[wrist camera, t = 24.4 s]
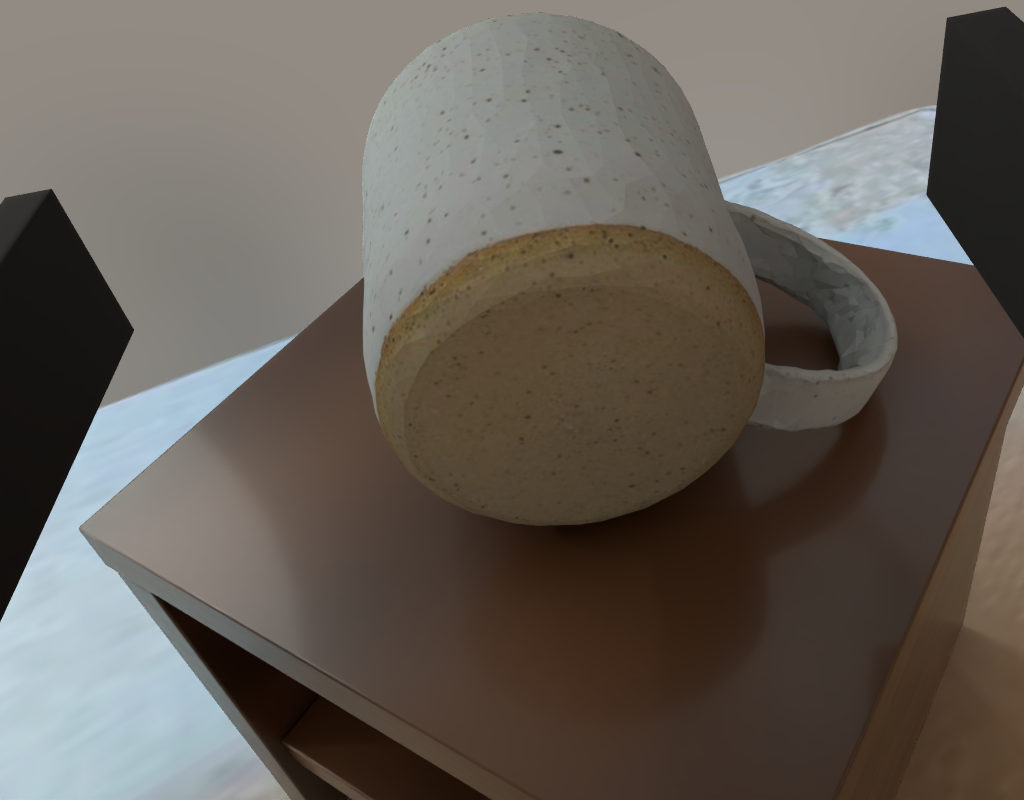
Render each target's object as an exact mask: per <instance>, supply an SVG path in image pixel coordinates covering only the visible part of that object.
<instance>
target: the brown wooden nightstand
mask: <svg viewBox="0 0 1024 800" xmlns="http://www.w3.org/2000/svg"><path fill="white" fill-rule="evenodd" d="M818 239H820V240H822V241H824V242H825V243H827V244H828V245H830V246H831V247H833V248H834V249H836V250H837V251H839V252H840V253H841V254H842V255H844V256H845V257H846V258H847V259H848V260H850V261H851V262H852V263H853V264H854V265H856V266H857V267H858V268H859V269H860V270H861V271H862V272H863V273H864V274H865V275H866V276H867V277H868V278H869V279H870V280H871V281H872V283H873V284H874V285H875V286H876V287H877V288H878V289H879V291H880V292H881V294H882V295H883V297H884V298H885V300H886V302H887V304H888V306H889V308H890V310H891V312H892V315H893V317H894V320H895V323H896V329H897V335H898V338H897V351H896V353H895V356H894V359H893V361H892V363H891V365H890V367H889V369H888V371H887V372H886V374H885V375H884V377H883V379H882V380H881V382H880V383H879V385H878V386H877V388H876V389H875V391H874V393H873V394H872V396H871V397H870V399H869V400H868V401H867V403H866V404H865V405H864V407H863V408H862V409H861V410H860V412H859V413H858V414H856V415H855V416H853V417H852V418H850V419H848V420H846V421H845V422H843V423H841V424H839V425H836V426H833V427H829V428H827V427H822V428H819V429H806V430H802V431H796V432H781V431H773V430H766V429H759V428H757V427H755V426H752V425H745V426H744V428H743V430H742V431H741V433H740V435H739V436H738V438H737V440H736V441H735V443H734V445H733V446H732V447H731V448H730V449H729V450H728V451H727V452H726V453H725V454H724V455H723V456H722V457H721V458H720V459H719V460H718V461H717V462H716V463H715V464H714V465H713V466H712V467H711V468H710V469H709V470H708V471H706V472H705V473H704V474H703V475H701V476H700V477H698V478H697V479H696V480H694V481H693V482H692V483H690V484H689V485H688V486H686V487H685V488H684V489H682V490H680V491H678V492H676V493H675V494H673V495H671V496H669V497H667V498H665V499H663V500H661V501H659V502H657V503H655V504H653V505H651V506H649V507H647V508H645V509H641V510H638V511H635V512H632V513H628V514H625V515H622V516H618V517H615V518H611V519H608V520H604V521H600V522H593V523H586V524H580V525H549V526H534V525H525V524H516V523H510V522H506V521H502V520H498V519H494V518H490V517H487V516H483V515H479V514H475V513H472V512H469V511H467V510H465V509H463V508H461V507H458V506H456V505H454V504H452V503H450V502H448V501H446V500H444V499H442V498H441V497H439V496H438V495H436V494H434V493H433V492H432V491H431V490H429V489H428V488H427V487H426V486H425V485H423V484H422V483H421V482H420V481H418V480H417V479H416V478H415V477H413V476H412V475H411V474H410V473H409V472H408V471H407V470H406V468H405V467H404V466H403V465H402V463H401V462H400V461H399V459H398V458H397V457H396V455H395V454H394V452H393V450H392V449H391V447H390V445H389V443H388V441H387V439H386V437H385V435H384V433H383V430H382V428H381V426H380V423H379V421H378V419H377V417H376V414H375V409H374V404H373V398H372V394H371V390H370V386H369V383H368V379H367V374H366V367H365V361H364V354H363V306H364V277H363V278H362V279H361V280H360V281H359V282H358V283H357V284H356V285H354V287H352V288H351V289H350V290H349V291H348V292H346V293H345V294H344V295H343V296H342V297H341V298H340V299H338V300H337V301H336V302H335V303H334V304H333V305H332V306H331V307H330V308H328V309H327V310H326V311H325V312H324V313H323V314H321V315H320V316H319V317H318V318H317V319H316V320H315V321H313V322H312V323H311V324H310V325H309V326H308V327H307V328H306V329H304V330H303V331H302V332H301V333H300V334H299V335H298V336H296V337H295V338H294V339H293V340H292V341H291V342H290V343H288V344H287V345H286V346H285V347H284V348H283V349H282V350H280V351H279V352H278V353H277V354H276V355H275V356H274V357H273V358H271V359H270V360H269V361H268V362H267V363H266V364H265V365H263V366H262V367H261V368H260V369H259V370H258V371H257V372H255V373H254V374H253V375H252V376H251V377H250V378H249V379H247V380H246V381H245V382H244V383H243V384H242V385H241V386H240V387H238V388H237V389H236V390H235V391H234V392H233V393H232V394H230V395H229V396H228V397H227V398H226V399H225V400H224V401H222V402H221V403H220V404H219V405H218V406H217V407H216V408H215V409H213V410H212V411H211V412H210V413H209V414H208V415H207V416H205V417H204V418H203V419H202V420H201V421H200V422H199V423H197V424H196V425H195V426H194V427H193V428H192V429H191V430H190V431H188V432H187V433H186V434H185V435H184V436H183V437H182V438H180V439H179V440H178V441H177V442H176V443H175V444H174V445H172V446H171V447H170V448H169V449H168V450H167V451H166V452H164V453H163V454H162V455H161V456H160V457H159V458H158V459H157V460H155V461H154V462H153V463H152V464H151V465H150V466H149V467H147V468H146V469H145V470H144V471H143V472H142V473H141V474H139V475H138V476H137V477H136V478H135V479H134V480H133V481H132V482H130V483H129V484H128V485H127V486H126V487H125V488H124V489H122V490H121V491H120V492H119V493H118V494H117V495H116V496H114V497H113V498H112V499H111V500H110V501H109V502H108V503H107V504H105V505H104V506H103V507H102V508H101V509H100V510H99V511H97V512H96V513H95V514H94V515H93V516H92V517H91V518H89V519H88V520H87V521H86V522H85V523H84V524H83V525H81V526H80V528H79V530H80V532H81V533H82V534H83V536H84V537H85V538H86V540H87V541H88V542H89V544H90V545H91V546H92V547H93V549H94V550H95V551H96V553H97V554H98V555H99V556H100V558H101V559H102V560H103V562H104V563H105V564H106V565H107V566H109V567H110V568H112V569H114V570H115V571H117V572H118V573H119V575H120V577H121V578H122V579H123V581H124V582H125V583H126V584H127V586H128V587H129V588H130V590H131V591H132V592H133V594H134V595H135V596H136V597H137V599H138V600H139V601H140V603H141V604H142V605H143V607H144V608H145V609H146V611H147V612H148V613H149V614H150V616H151V617H152V618H153V620H154V621H155V622H156V624H157V625H158V626H159V628H160V629H161V630H162V631H163V633H164V634H165V635H166V637H167V638H168V639H169V641H170V642H171V643H172V645H173V646H174V647H175V648H176V650H177V651H178V652H179V654H180V655H181V656H182V658H183V659H184V660H185V661H186V663H187V664H188V665H189V667H190V668H191V669H192V671H193V672H194V673H195V675H196V676H197V677H198V678H199V680H200V681H201V682H202V684H203V685H204V686H205V688H206V689H207V690H208V692H209V693H210V694H211V695H212V697H213V698H214V699H215V701H216V702H217V703H218V705H219V706H220V707H221V708H222V710H223V711H224V712H225V714H226V715H227V716H228V718H229V719H230V720H231V722H232V723H233V724H234V725H235V727H236V728H237V729H238V731H239V732H240V733H241V735H242V736H243V737H244V739H245V740H246V741H247V742H248V744H249V745H250V746H251V748H252V749H253V750H254V752H255V753H256V754H257V755H258V757H259V758H260V759H261V761H262V762H263V763H264V765H265V766H266V767H267V769H268V770H269V771H270V772H271V774H272V775H273V776H274V778H275V779H276V780H277V782H278V783H279V784H280V786H281V787H282V788H283V789H284V791H285V792H286V793H287V795H288V796H289V797H290V799H291V800H347V798H348V797H350V798H351V799H353V800H894V799H895V796H896V794H897V791H898V788H899V786H900V783H901V781H902V778H903V776H904V773H905V771H906V768H907V765H908V763H909V760H910V758H911V755H912V753H913V750H914V748H915V745H916V742H917V740H918V737H919V735H920V732H921V730H922V727H923V724H924V722H925V719H926V717H927V714H928V712H929V709H930V707H931V704H932V701H933V699H934V696H935V694H936V691H937V689H938V686H939V683H940V681H941V678H942V676H943V673H944V671H945V668H946V666H947V663H948V660H949V658H950V655H951V653H952V650H953V648H954V645H955V642H956V640H957V637H958V635H959V632H960V630H961V627H962V625H963V620H964V616H965V611H966V607H967V602H968V598H969V593H970V589H971V584H972V580H973V575H974V571H975V566H976V562H977V557H978V553H979V548H980V544H981V539H982V535H983V530H984V526H985V521H986V517H987V512H988V508H989V503H990V499H991V494H992V490H993V485H994V481H995V476H996V472H997V467H998V463H999V458H1000V454H1001V449H1002V445H1003V440H1004V436H1005V431H1006V427H1007V424H1008V421H1009V419H1010V417H1011V414H1012V412H1013V409H1014V407H1015V405H1016V402H1017V400H1018V397H1019V395H1020V393H1021V390H1022V388H1023V386H1024V338H1023V337H1022V335H1021V334H1020V332H1019V331H1018V329H1017V328H1016V326H1015V325H1014V324H1013V322H1012V321H1011V319H1010V318H1009V316H1008V315H1007V313H1006V312H1005V310H1004V309H1003V307H1002V306H1001V304H1000V303H999V301H998V300H997V298H996V297H995V295H994V294H993V292H992V291H991V290H990V288H989V287H988V285H987V284H986V282H985V281H984V279H983V278H982V276H981V275H980V273H979V272H978V270H977V269H976V267H975V266H973V265H968V264H962V263H957V262H951V261H945V260H940V259H934V258H929V257H923V256H917V255H912V254H906V253H900V252H895V251H889V250H884V249H878V248H872V247H867V246H861V245H855V244H850V243H844V242H839V241H833V240H827V239H822V238H818ZM755 279H756V282H757V286H758V290H759V294H760V298H761V305H762V313H763V321H764V330H765V363H767V364H771V365H776V366H788V367H797V368H801V369H805V370H816V371H820V370H826V369H828V370H834V371H839V370H838V365H839V362H840V358H839V355H838V352H837V349H836V346H835V343H834V340H833V338H832V335H831V333H830V330H829V328H828V327H827V325H826V323H825V322H824V321H823V320H822V319H821V318H819V317H818V316H817V314H816V312H815V311H813V310H812V309H811V308H809V307H808V306H807V305H805V304H803V303H801V302H799V301H797V300H796V299H795V298H793V297H792V296H790V295H788V294H787V293H785V292H783V291H781V290H780V289H778V288H776V287H774V286H773V285H771V284H768V283H766V282H764V281H761V280H759V279H757V278H755Z"/></svg>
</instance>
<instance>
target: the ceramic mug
mask: <svg viewBox="0 0 1024 800" xmlns="http://www.w3.org/2000/svg"><path fill="white" fill-rule="evenodd" d="M362 190H363V248H362V252H363V270H364V271H363V272H364V306H363V354H364V361H365V367H366V374H367V379H368V383H369V386H370V390H371V394H372V398H373V404H374V409H375V414H376V417H377V419H378V421H379V423H380V426H381V428H382V430H383V433H384V435H385V437H386V439H387V441H388V443H389V445H390V447H391V449H392V450H393V452H394V454H395V455H396V457H397V458H398V459H399V461H400V462H401V463H402V465H403V466H404V467H405V468H406V470H407V471H408V472H409V473H410V474H411V475H412V476H413V477H415V478H416V479H417V480H418V481H420V482H421V483H422V484H423V485H425V486H426V487H427V488H428V489H429V490H431V491H432V492H433V493H434V494H436V495H438V496H439V497H441V498H442V499H444V500H446V501H448V502H450V503H452V504H454V505H456V506H458V507H461V508H463V509H465V510H467V511H469V512H472V513H475V514H479V515H483V516H487V517H490V518H494V519H498V520H502V521H506V522H510V523H516V524H525V525H534V526H549V525H580V524H586V523H593V522H600V521H604V520H608V519H611V518H615V517H618V516H622V515H625V514H628V513H632V512H635V511H638V510H641V509H645V508H647V507H649V506H651V505H653V504H655V503H657V502H659V501H661V500H663V499H665V498H667V497H669V496H671V495H673V494H675V493H676V492H678V491H680V490H682V489H684V488H685V487H686V486H688V485H689V484H690V483H692V482H693V481H694V480H696V479H697V478H698V477H700V476H701V475H703V474H704V473H705V472H706V471H708V470H709V469H710V468H711V467H712V466H713V465H714V464H715V463H716V462H717V461H718V460H719V459H720V458H721V457H722V456H723V455H724V454H725V453H726V452H727V451H728V450H729V449H730V448H731V447H732V446H733V445H734V443H735V441H736V440H737V438H738V436H739V435H740V433H741V431H742V430H743V428H744V426H745V425H752V426H755V427H757V428H759V429H766V430H773V431H781V432H796V431H802V430H806V429H819V428H822V427H827V428H829V427H833V426H836V425H839V424H841V423H843V422H845V421H846V420H848V419H850V418H852V417H853V416H855V415H856V414H858V413H859V412H860V410H861V409H862V408H863V407H864V405H865V404H866V403H867V401H868V400H869V399H870V397H871V396H872V394H873V393H874V391H875V389H876V388H877V386H878V385H879V383H880V382H881V380H882V379H883V377H884V375H885V374H886V372H887V371H888V369H889V367H890V365H891V363H892V361H893V359H894V356H895V353H896V351H897V338H898V335H897V329H896V323H895V320H894V317H893V315H892V312H891V310H890V308H889V306H888V304H887V302H886V300H885V298H884V297H883V295H882V294H881V292H880V291H879V289H878V288H877V287H876V286H875V285H874V284H873V283H872V281H871V280H870V279H869V278H868V277H867V276H866V275H865V274H864V273H863V272H862V271H861V270H860V269H859V268H858V267H857V266H856V265H854V264H853V263H852V262H851V261H850V260H848V259H847V258H846V257H845V256H844V255H842V254H841V253H840V252H839V251H837V250H836V249H834V248H833V247H831V246H830V245H828V244H827V243H825V242H824V241H822V240H820V239H818V238H816V237H815V236H813V235H811V234H809V233H807V232H805V231H803V230H802V229H800V228H798V227H795V226H793V225H791V224H789V223H786V222H784V221H781V220H778V219H776V218H774V217H772V216H770V215H768V214H766V213H764V212H761V211H759V210H756V209H754V208H750V207H747V206H742V205H739V204H736V203H730V202H728V201H726V200H724V198H723V195H722V192H721V189H720V186H719V183H718V180H717V177H716V174H715V171H714V168H713V165H712V162H711V159H710V157H709V154H708V151H707V149H706V146H705V143H704V139H703V136H702V134H701V131H700V128H699V125H698V122H697V120H696V118H695V115H694V113H693V110H692V108H691V106H690V104H689V102H688V101H687V99H686V97H685V95H684V93H683V91H682V90H681V88H680V87H679V85H678V84H677V83H676V81H675V80H674V79H673V77H672V76H671V75H670V73H669V72H668V71H667V70H666V68H665V67H664V66H663V65H662V64H661V63H660V62H659V61H658V60H657V59H656V58H655V57H654V56H652V55H651V54H650V53H649V52H647V51H646V50H645V49H644V48H642V47H641V46H639V45H638V44H636V43H634V42H633V41H632V40H630V39H628V38H627V37H625V36H624V35H622V34H621V33H619V32H618V31H615V30H612V29H610V28H607V27H604V26H602V25H599V24H596V23H594V22H591V21H587V20H584V19H580V18H577V17H573V16H563V15H554V14H548V13H543V12H539V13H522V14H515V15H508V16H502V17H496V18H489V19H487V20H484V21H481V22H479V23H476V24H474V25H471V26H468V27H466V28H464V29H461V30H459V31H456V32H454V33H452V34H450V35H448V36H447V37H444V38H442V39H441V40H439V41H437V42H435V43H434V44H432V45H431V46H429V47H428V48H427V49H426V50H424V51H423V52H422V53H421V54H419V55H418V56H417V57H416V58H414V60H413V61H412V62H411V63H410V64H409V65H408V66H407V67H406V68H405V69H404V70H403V71H402V72H401V73H400V74H399V76H398V77H397V78H396V79H395V80H394V81H393V82H392V83H391V85H390V86H389V88H388V90H387V92H386V93H385V95H384V96H383V98H382V99H381V102H380V104H379V106H378V108H377V110H376V112H375V115H374V117H373V119H372V122H371V125H370V129H369V133H368V136H367V140H366V145H365V151H364V158H363V167H362ZM755 278H757V279H759V280H761V281H764V282H766V283H768V284H771V285H773V286H774V287H776V288H778V289H780V290H781V291H783V292H785V293H787V294H788V295H790V296H792V297H793V298H795V299H796V300H797V301H799V302H801V303H803V304H805V305H807V306H808V307H809V308H811V309H812V310H813V311H815V312H816V314H817V316H818V317H819V318H821V319H822V320H823V321H824V322H825V323H826V325H827V327H828V328H829V330H830V333H831V335H832V338H833V340H834V343H835V346H836V349H837V352H838V355H839V358H840V362H839V365H838V370H839V371H834V370H828V369H826V370H820V371H816V370H805V369H801V368H797V367H788V366H776V365H771V364H767V363H765V330H764V321H763V313H762V305H761V298H760V294H759V290H758V286H757V282H756V279H755Z"/></svg>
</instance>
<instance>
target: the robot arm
mask: <svg viewBox="0 0 1024 800" xmlns="http://www.w3.org/2000/svg"><path fill="white" fill-rule="evenodd" d="M927 196H928V198H929V199H930V201H931V202H932V204H933V205H934V207H935V208H936V210H937V211H938V213H939V214H940V216H941V217H942V218H943V220H944V221H945V223H946V224H947V226H948V227H949V229H950V230H951V232H952V233H953V235H954V236H955V238H956V239H957V241H958V242H959V244H960V245H961V247H962V248H963V250H964V251H965V253H966V254H967V255H968V257H969V258H970V260H971V261H972V263H973V264H974V266H975V267H976V269H977V270H978V272H979V273H980V275H981V276H982V278H983V279H984V281H985V282H986V284H987V285H988V287H989V288H990V290H991V291H992V292H993V294H994V295H995V297H996V298H997V300H998V301H999V303H1000V304H1001V306H1002V307H1003V309H1004V310H1005V312H1006V313H1007V315H1008V316H1009V318H1010V319H1011V321H1012V322H1013V324H1014V325H1015V326H1016V328H1017V329H1018V331H1019V332H1020V334H1021V335H1022V337H1023V338H1024V22H1023V21H1021V20H1020V19H1019V18H1018V17H1017V16H1016V15H1015V14H1014V13H1012V12H1011V11H1010V10H1009V9H1008V8H1006V7H1001V8H996V9H991V10H986V11H980V12H975V13H970V14H965V15H960V16H954V17H949V18H947V23H946V31H945V39H944V48H943V57H942V65H941V74H940V83H939V91H938V100H937V108H936V117H935V126H934V134H933V143H932V152H931V160H930V169H929V178H928V186H927ZM133 331H134V329H133V327H132V326H131V324H130V322H129V320H128V319H127V317H126V316H125V314H124V312H123V310H122V309H121V307H120V305H119V303H118V302H117V300H116V298H115V296H114V295H113V293H112V291H111V290H110V288H109V286H108V285H107V283H106V281H105V279H104V278H103V276H102V274H101V272H100V271H99V269H98V267H97V266H96V264H95V262H94V260H93V259H92V257H91V255H90V254H89V252H88V250H87V248H86V247H85V245H84V244H83V242H82V240H81V238H80V237H79V235H78V233H77V231H76V230H75V228H74V226H73V225H72V223H71V221H70V219H69V218H68V216H67V214H66V213H65V211H64V209H63V207H62V206H61V204H60V202H59V201H58V199H57V197H56V195H55V194H54V192H53V190H52V189H49V190H44V191H38V192H34V193H28V194H23V195H17V196H12V197H7V198H5V199H4V200H3V202H2V203H1V204H0V621H1V619H2V617H3V615H4V613H5V611H6V608H7V606H8V604H9V602H10V600H11V597H12V595H13V593H14V591H15V589H16V587H17V584H18V582H19V580H20V578H21V576H22V573H23V571H24V569H25V567H26V565H27V563H28V560H29V558H30V556H31V554H32V552H33V549H34V547H35V545H36V543H37V541H38V539H39V536H40V534H41V532H42V530H43V528H44V525H45V523H46V521H47V519H48V517H49V515H50V512H51V510H52V508H53V506H54V504H55V501H56V499H57V497H58V495H59V493H60V491H61V488H62V486H63V484H64V482H65V480H66V478H67V475H68V473H69V471H70V469H71V467H72V464H73V462H74V460H75V458H76V456H77V454H78V451H79V449H80V447H81V445H82V443H83V440H84V438H85V436H86V434H87V432H88V430H89V427H90V425H91V423H92V421H93V419H94V416H95V414H96V412H97V410H98V408H99V406H100V403H101V401H102V399H103V397H104V395H105V392H106V390H107V388H108V386H109V384H110V382H111V379H112V377H113V375H114V373H115V371H116V369H117V366H118V364H119V362H120V360H121V358H122V355H123V353H124V351H125V349H126V347H127V345H128V342H129V340H130V338H131V336H132V334H133Z"/></svg>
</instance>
